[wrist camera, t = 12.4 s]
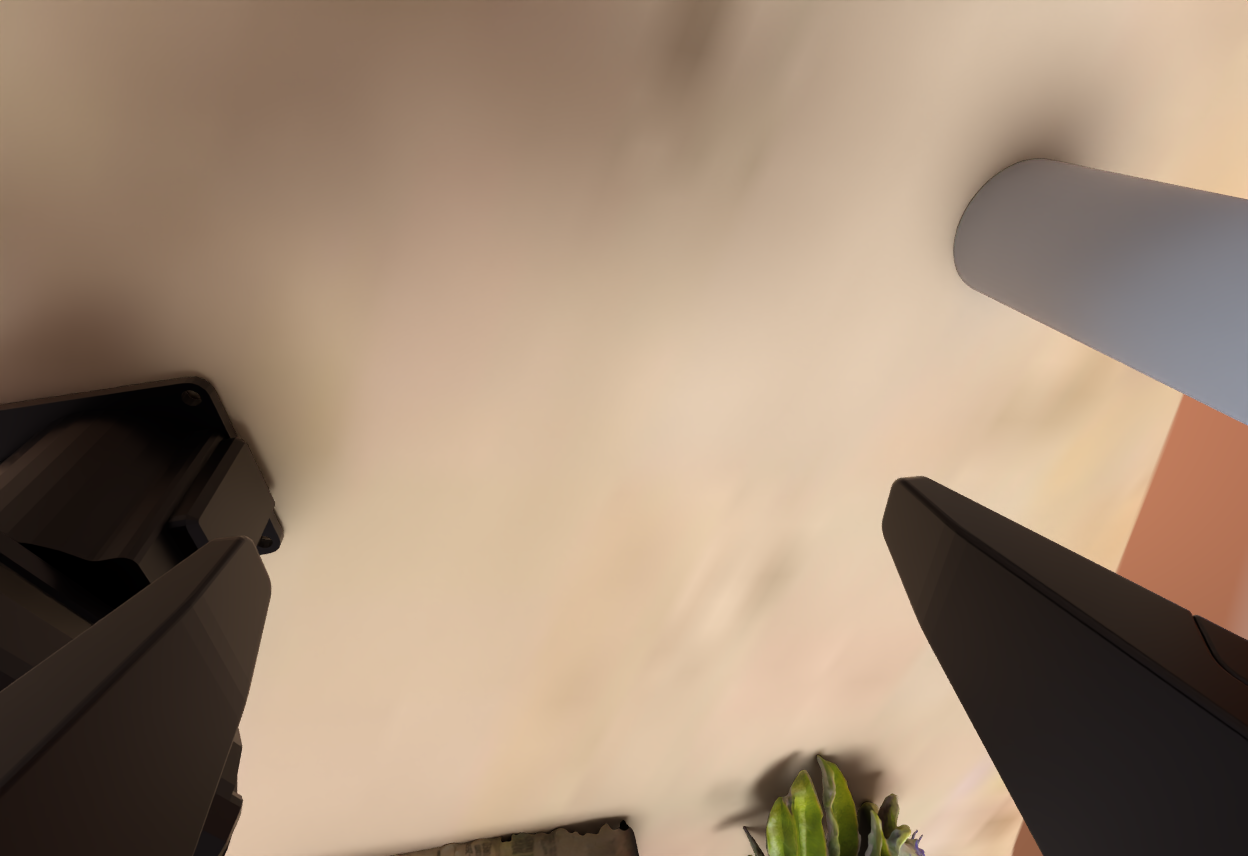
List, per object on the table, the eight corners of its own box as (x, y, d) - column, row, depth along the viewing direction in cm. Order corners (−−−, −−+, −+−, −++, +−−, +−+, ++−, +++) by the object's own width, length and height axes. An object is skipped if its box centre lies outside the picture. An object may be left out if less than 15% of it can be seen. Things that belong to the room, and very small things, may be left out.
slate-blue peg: (942, 301, 22) (1225, 459, 14) (968, 167, 20) (1328, 257, 11) (1056, 283, 23) (1397, 425, 14) (1094, 150, 20) (1529, 225, 12)
